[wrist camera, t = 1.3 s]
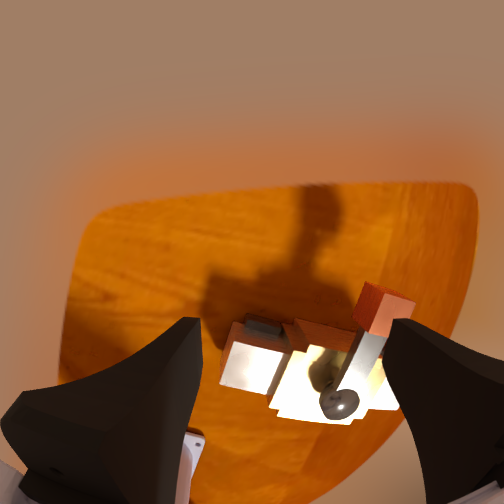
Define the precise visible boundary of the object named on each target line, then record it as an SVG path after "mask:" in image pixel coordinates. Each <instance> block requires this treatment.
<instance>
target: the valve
mask: <svg viewBox="0 0 504 504" xmlns="http://www.w3.org/2000/svg"><path fill="white" fill-rule="evenodd" d="M355 336H356V333H355V332H351V331H347V330H343V329H338V328H334V327H330V326H326V325H322V324H318V323H314V322H310V321H306V320H302V319H298V318H295V319H294V321H293V324H292V325H290V324H286V323H281V325H280V323H279V322H278V321H274V320H271V319H267V318H263V317H259V316H256V315H252V314H249V313H247V314H246V317H245V320H244V323H239V322H236V321H233V323H232V326H231V329H230V332H229V335H228V338H227V341H226V344H225V347H224V350H223V353H222V356H221V360H220V380H219V384H222V385H226V386H230V387H234V388H238V389H243V390H247V391H252V392H257V393H262V394H266V396H267V401H268V406H269V408H275V409H276V413H277V416H280V417H287V418H294V419H301V420H309V421H318V422H328V423H340V424H350V423H351V421H352V419H353V418H358V419H362V418H363V417H364V415H365V413H366V412H367V410H368V408H371V409H386V410H397V409H398V407H399V404H398V402H397V400H396V398H395V396H394V394H393V392H392V390H391V388H390V385H389V383H388V381H387V378H386V375H385V372H384V369H383V365H382V362H381V361H382V358H383V355H384V351H385V348H386V346H383V348H382V351H381V353H380V355H379V357H378V359H377V361H376V363H375V365H374V367H373V369H372V371H371V373H370V375H369V377H368V379H367V381H366V383H365V384H364V386H363V388H362V390H361V392H360V394H359V397H360V405H359V407H358V409H357V410H356V412H355V413H354V414H352V415H351V416H350V417H348V418H346V419H344V420H341V421H330V420H327V419H326V418H325V417H324V416H323V413H322V411H321V409H320V407H319V404H318V399H319V396H320V394H321V392H322V391H323V390H324V389H325V388H326V387H328V386H329V385H331V384H333V382H334V380H335V378H336V376H337V374H338V372H339V370H340V368H341V366H342V364H343V362H344V360H345V358H346V355H347V353H348V351H349V349H350V347H351V345H352V342H353V340H354V338H355Z"/></svg>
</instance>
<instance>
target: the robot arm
mask: <svg viewBox="0 0 504 504" xmlns="http://www.w3.org/2000/svg"><path fill="white" fill-rule="evenodd" d="M381 362H382V365H383V369H384V372H385V375H386V378H387V381H388V383H389V385H390V388H391V390H392V392H393V394H394V396H395V398H396V400H397V402H398V404H399V406H400V408H401V410H402V412H403V414H404V416H405V418H406V420H407V422H408V424H409V427H410V429H411V432H412V435H413V438H414V441H415V444H416V448H417V451H418V455H419V459H420V463H421V468H422V473H423V478H424V485H425V492H426V503H427V504H504V361H502V360H498V359H495V358H492V357H489V356H487V355H484V354H481V353H479V352H476V351H474V350H471V349H469V348H467V347H465V346H463V345H460V344H458V343H456V342H454V341H452V340H450V339H448V338H447V337H445V336H443V335H441V334H439V333H437V332H435V331H433V330H431V329H430V328H428V327H426V326H424V325H422V324H420V323H418V322H416V321H413V320H411V319H408V318H396V319H393V321H392V325H391V329H390V333H389V337H388V340H387V344H386V348H385V351H384V355H383V358H382V361H381ZM202 367H203V356H202V341H201V324H200V318H194V317H183V318H181V319H180V320H179V321H177V322H176V323H175V324H174V325H173V326H171V327H170V328H169V329H168V330H167V331H165V332H164V333H163V334H161V335H160V336H159V337H158V338H156V339H155V340H154V341H152V342H151V343H150V344H148V345H147V346H145V347H144V348H142V349H141V350H139V351H138V352H136V353H135V354H133V355H132V356H130V357H128V358H127V359H125V360H123V361H121V362H119V363H118V364H116V365H114V366H112V367H110V368H108V369H105V370H103V371H100V372H98V373H95V374H93V375H91V376H88V377H85V378H83V379H79V380H76V381H73V382H70V383H66V384H62V385H58V386H54V387H48V388H43V389H36V390H30V391H23V392H22V393H21V394H20V396H19V397H18V398H17V399H16V401H15V402H14V403H13V404H12V406H11V407H10V408H9V409H8V411H7V412H6V413H5V415H4V416H3V417H2V418H1V420H0V426H1V430H2V432H3V435H4V437H5V438H6V440H7V441H8V443H9V444H10V446H11V447H12V449H13V450H14V451H15V453H16V454H17V455H18V457H19V458H20V459H21V460H22V462H23V463H24V464H25V465H26V467H27V468H28V470H27V472H26V474H25V475H24V476H23V474H21V473H20V472H19V471H18V470H16V469H15V468H13V467H11V466H10V465H8V464H6V463H4V462H3V461H1V460H0V504H189V494H190V484H191V478H192V475H193V473H194V470H195V468H196V465H197V462H198V460H199V457H200V454H201V452H202V449H203V446H204V444H205V437H203V436H201V435H197V434H193V433H189V432H186V430H187V426H188V423H189V420H190V416H191V413H192V410H193V406H194V403H195V400H196V396H197V393H198V390H199V386H200V380H201V374H202ZM197 443H200V444H197Z"/></svg>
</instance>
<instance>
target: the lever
mask: <svg viewBox="0 0 504 504" xmlns="http://www.w3.org/2000/svg"><path fill="white" fill-rule="evenodd" d="M415 304H416V302H414V301H412V300H410V299H409V298H407V297H405V296H403V295H402V294H400V293H398V292H396V291H394V290H391V289H388V288H385V287H382V286H379V285H376V284H372V283H369V282H366V281H365V283H364V286H363V289H362V291H361V294H360V296H359V299H358V302H357V304H356V307H355V309H354V312H353V314H352V316H351V317H352V318H353V319H354V320H355V321H356V322H357V323H358V324H359V325H360V326H359V329H358V331H357V333H356V336H355V338H354V340H353V342H352V345H351V347H350V349H349V351H348V353H347V355H346V358H345V360H344V362H343V364H342V366H341V368H340V370H339V372H338V374H337V376H336V378H335V380H334V382H333V384H331V385H329V386H328V387H326V388H325V389H324V390H323V391H322V392H321V394H320V396H319V399H318V404H319V407H320V409H321V411H322V413H323V416H324V417H325V418H326V419H327V420H330V421H341V420H344V419H346V418H348V417H350V416H351V415H352V414H354V413H355V412H356V410H357V409H358V407H359V405H360V397H359V394H360V392H361V390H362V388H363V386H364V384H365V383H366V381H367V379H368V377H369V375H370V373H371V371H372V369H373V367H374V365H375V363H376V361H377V359H378V357H379V355H380V353H381V351H382V348H383V346H384V344H385V342H386V340H387V338H388V337H389V333H390V329H391V325H392V321H393V319H396V318H408V319H410V316H411V314H412V311H413V309H414V306H415Z"/></svg>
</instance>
